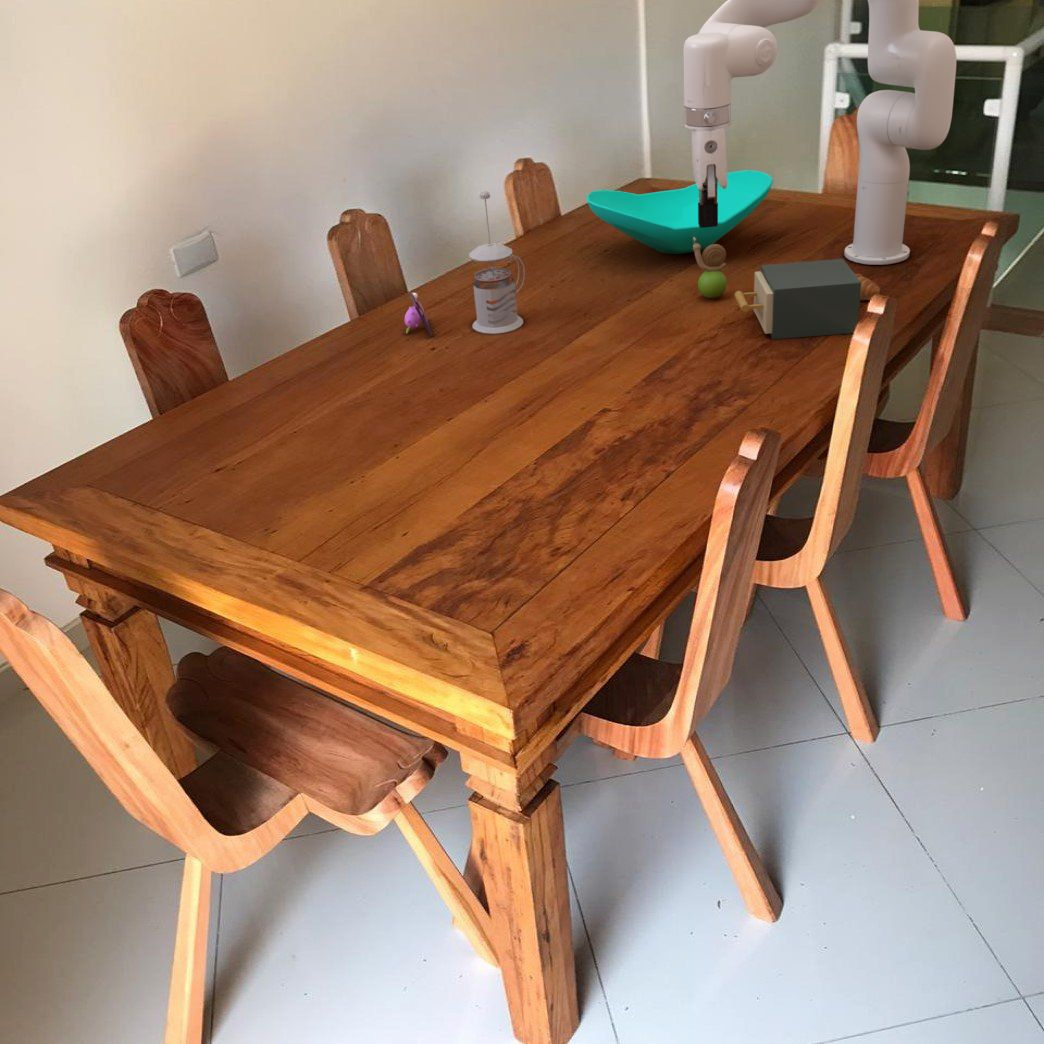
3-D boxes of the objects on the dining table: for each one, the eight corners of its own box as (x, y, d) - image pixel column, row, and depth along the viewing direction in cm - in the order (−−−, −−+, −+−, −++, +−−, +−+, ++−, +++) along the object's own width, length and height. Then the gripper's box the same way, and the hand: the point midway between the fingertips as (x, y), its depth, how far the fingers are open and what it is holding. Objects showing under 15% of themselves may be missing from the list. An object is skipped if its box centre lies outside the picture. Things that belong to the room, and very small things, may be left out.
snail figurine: (690, 294, 213) (689, 233, 207) (722, 291, 213) (723, 230, 207) (696, 304, 208) (696, 242, 202) (729, 300, 209) (730, 238, 202)
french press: (462, 324, 210) (446, 193, 197) (510, 307, 215) (498, 178, 202) (491, 337, 203) (477, 202, 190) (541, 319, 208) (530, 187, 195)
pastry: (886, 294, 205) (888, 274, 203) (867, 306, 201) (869, 286, 199) (842, 285, 211) (843, 265, 208) (822, 296, 207) (823, 276, 205)
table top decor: (745, 219, 250) (747, 159, 243) (793, 255, 227) (796, 191, 220) (575, 243, 246) (572, 183, 239) (606, 282, 222) (603, 217, 215)
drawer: (742, 335, 192) (743, 295, 188) (732, 311, 201) (732, 273, 198) (843, 327, 191) (846, 287, 187) (827, 304, 201) (830, 265, 197)
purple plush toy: (420, 304, 202) (414, 288, 209) (395, 317, 202) (390, 301, 210) (436, 335, 205) (430, 318, 213) (412, 347, 206) (406, 330, 213)
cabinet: (772, 339, 191) (774, 289, 187) (759, 313, 202) (760, 265, 197) (857, 332, 191) (861, 282, 186) (839, 306, 202) (842, 258, 197)
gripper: (737, 124, 174) (735, 237, 184) (724, 103, 187) (724, 211, 196) (689, 128, 174) (690, 241, 184) (680, 107, 187) (681, 214, 197)
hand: (707, 225), depth 190 cm, fingers closed
